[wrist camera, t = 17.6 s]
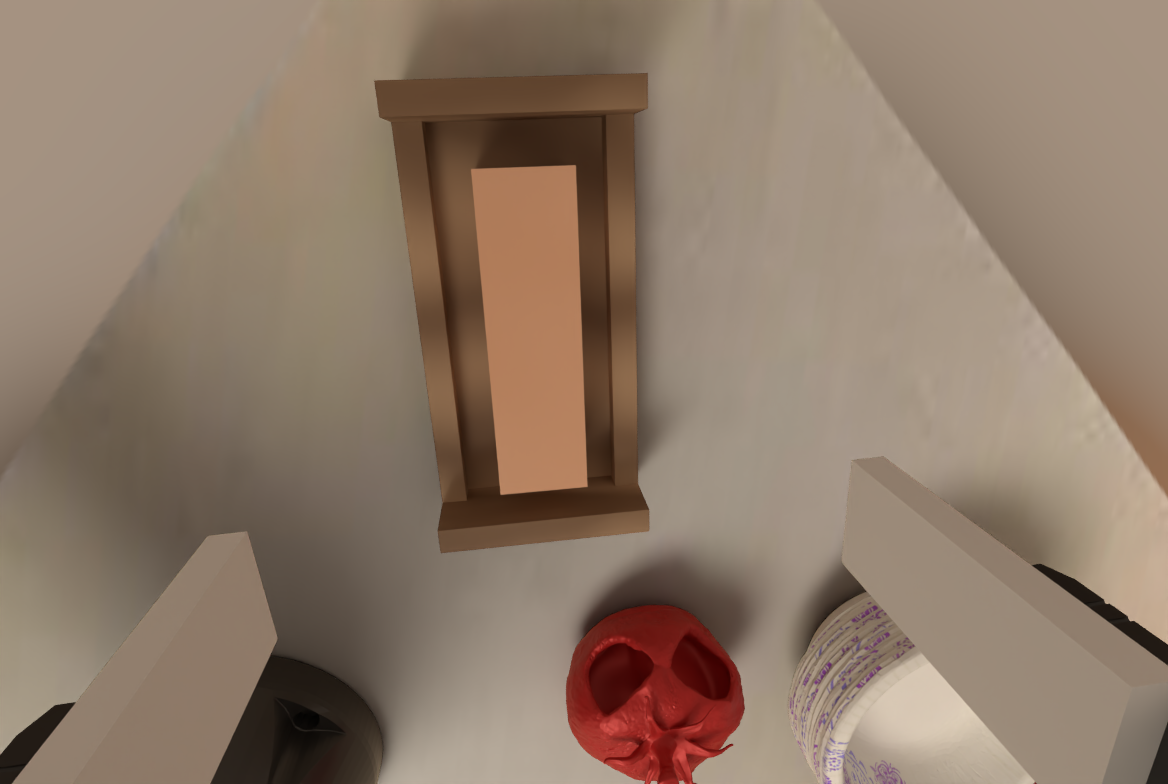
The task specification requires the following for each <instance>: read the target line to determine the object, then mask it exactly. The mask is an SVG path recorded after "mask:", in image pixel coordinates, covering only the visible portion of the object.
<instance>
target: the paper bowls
mask: <svg viewBox="0 0 1168 784" xmlns="http://www.w3.org/2000/svg"><path fill="white" fill-rule="evenodd" d="M788 714H789V720H790V725H791V728H792V731H793V733H794V735H795V738H796V740H797V742H798V745H799V747H800V749H801V750H802V752H803V754H804V756H805V758H806V760H807V762H808V764H809V766H810V767H811V769H812V770H813V772H814V773H815V775H816V778H817V780H818V782H819V784H1034V783H1035V781H1034V780H1033V779H1032V778H1031V776H1030V775H1029V774H1028V773H1027V772H1026V771H1025V770H1024V768H1023V767H1022V766H1021V765H1020V764H1019V763H1018V762H1017V761H1016V759H1015V758H1014V757H1013V756H1012V755H1011V754H1010V753H1009V751H1008V750H1007V749H1006V748H1005V747H1004V746H1003V745H1002V744H1001V742H1000V741H999V740H998V739H997V738H996V737H995V736H994V735H993V733H992V732H991V731H990V730H989V729H988V728H987V727H986V725H985V724H984V723H983V722H982V721H981V720H980V719H979V718H978V716H977V715H976V714H975V713H974V712H973V711H972V710H971V708H970V707H969V706H968V705H967V704H966V703H965V702H964V701H963V699H962V698H961V697H960V696H959V695H958V694H957V693H956V692H955V690H954V689H953V688H952V687H951V686H950V685H949V684H948V682H947V681H946V680H945V679H944V678H943V677H942V676H941V675H940V673H939V672H938V671H937V670H936V669H935V668H934V667H933V665H932V664H931V663H930V662H929V661H928V660H927V659H926V658H925V656H924V655H923V654H922V653H921V652H920V651H919V650H918V649H917V647H916V646H915V645H914V644H913V643H912V642H911V641H910V639H909V638H908V637H907V636H906V635H905V634H904V633H903V632H902V630H901V629H900V628H899V627H898V626H897V625H896V624H895V622H894V621H893V620H892V619H891V618H890V617H889V616H888V615H887V613H886V612H885V611H884V610H883V609H882V608H881V607H880V606H879V604H878V603H877V602H876V601H875V600H874V599H873V598H872V596H871V595H870V594H869V593H868V592H864V593H862V594H860V595H858V596H856V597H854V598H852V599H850V600H848V601H847V602H845V603H844V604H842V605H841V606H840V607H838V608H837V609H836V610H834V611H833V612H832V613H831V614H830V615H829V616H828V617H827V618H826V619H825V620H824V621H823V623H822V624H821V625H820V627H819V628H818V629H817V631H816V632H815V634H814V636H813V638H812V640H811V642H810V644H809V646H808V649H807V651H806V653H805V654H804V655H803V657H802V658H801V660H800V662H799V664H798V665H797V668H796V671H795V674H794V677H793V680H792V685H791V688H790V694H789V700H788Z"/></svg>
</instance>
